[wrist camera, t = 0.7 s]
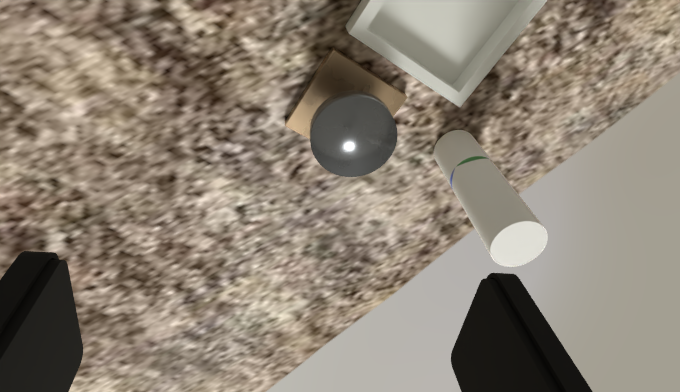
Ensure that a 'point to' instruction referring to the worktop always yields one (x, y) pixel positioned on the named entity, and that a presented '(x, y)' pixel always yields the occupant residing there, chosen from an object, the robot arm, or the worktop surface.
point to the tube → (490, 201)
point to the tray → (442, 37)
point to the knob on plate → (347, 116)
